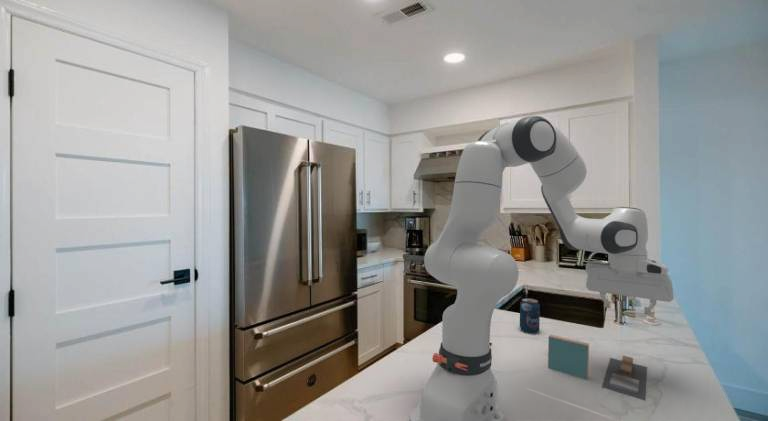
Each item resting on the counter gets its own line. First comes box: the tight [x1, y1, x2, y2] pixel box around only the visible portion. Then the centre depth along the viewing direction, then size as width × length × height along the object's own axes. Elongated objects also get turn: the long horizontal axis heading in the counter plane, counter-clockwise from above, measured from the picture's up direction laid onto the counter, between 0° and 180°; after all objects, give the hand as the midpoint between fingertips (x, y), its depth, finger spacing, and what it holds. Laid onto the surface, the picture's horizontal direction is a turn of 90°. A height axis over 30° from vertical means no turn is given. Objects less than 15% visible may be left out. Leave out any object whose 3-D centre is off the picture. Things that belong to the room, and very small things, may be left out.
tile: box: [547, 334, 590, 380], centre depth 94 cm, size 2×10×10 cm, turn 50°
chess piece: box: [642, 299, 660, 326], centre depth 137 cm, size 5×5×10 cm
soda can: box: [519, 297, 541, 335], centre depth 126 cm, size 7×7×12 cm
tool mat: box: [601, 357, 648, 401], centre depth 92 cm, size 22×9×1 cm, turn 140°
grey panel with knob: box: [609, 355, 639, 394], centre depth 92 cm, size 18×6×2 cm, turn 140°
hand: (626, 310), depth 95 cm, fingers open, 8 cm apart
